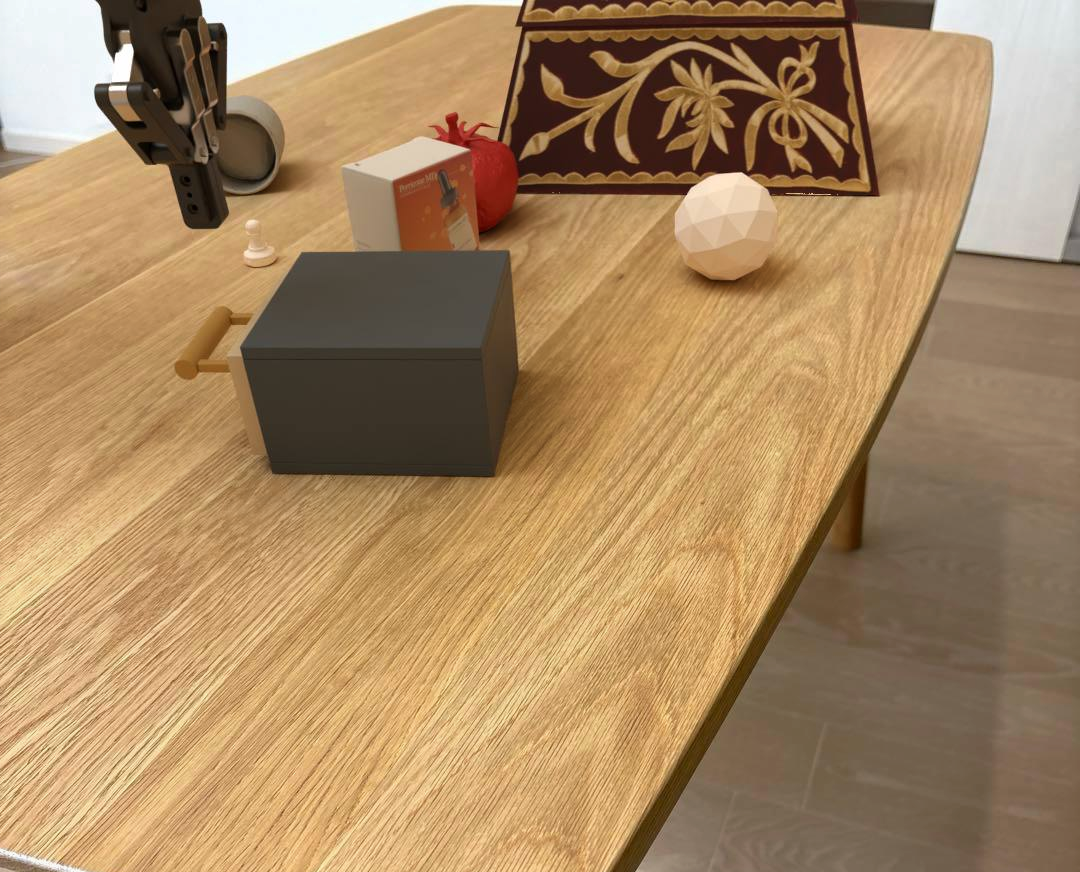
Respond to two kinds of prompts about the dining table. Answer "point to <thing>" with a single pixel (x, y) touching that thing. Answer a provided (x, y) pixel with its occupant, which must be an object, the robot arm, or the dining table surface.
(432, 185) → the small box
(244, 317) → the drawer
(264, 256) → the chess pawn
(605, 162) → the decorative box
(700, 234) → the geometric ball
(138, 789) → the dining table surface
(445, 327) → the cabinet
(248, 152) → the ceramic mug
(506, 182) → the pomegranate
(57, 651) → the dining table surface
